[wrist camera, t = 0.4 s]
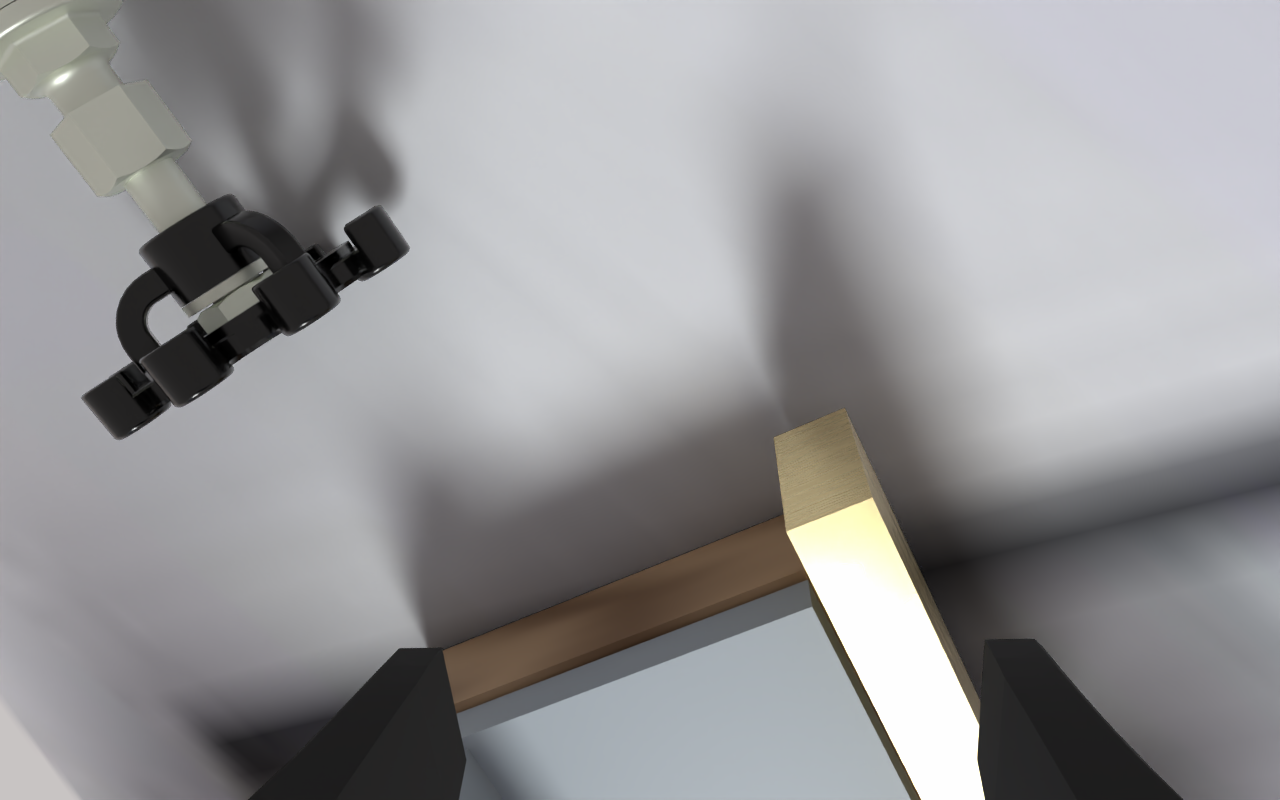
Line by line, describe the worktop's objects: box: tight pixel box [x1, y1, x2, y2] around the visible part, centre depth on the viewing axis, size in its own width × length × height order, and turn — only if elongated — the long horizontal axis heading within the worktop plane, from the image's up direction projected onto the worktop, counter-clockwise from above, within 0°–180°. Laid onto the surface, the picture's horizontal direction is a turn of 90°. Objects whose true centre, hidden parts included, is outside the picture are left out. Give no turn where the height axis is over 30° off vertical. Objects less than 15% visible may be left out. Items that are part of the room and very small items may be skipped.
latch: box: [774, 408, 985, 800], centre depth 21 cm, size 2×14×5 cm, turn 27°
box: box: [443, 514, 922, 800], centre depth 25 cm, size 10×7×3 cm
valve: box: [0, 0, 410, 440], centre depth 18 cm, size 7×7×12 cm
